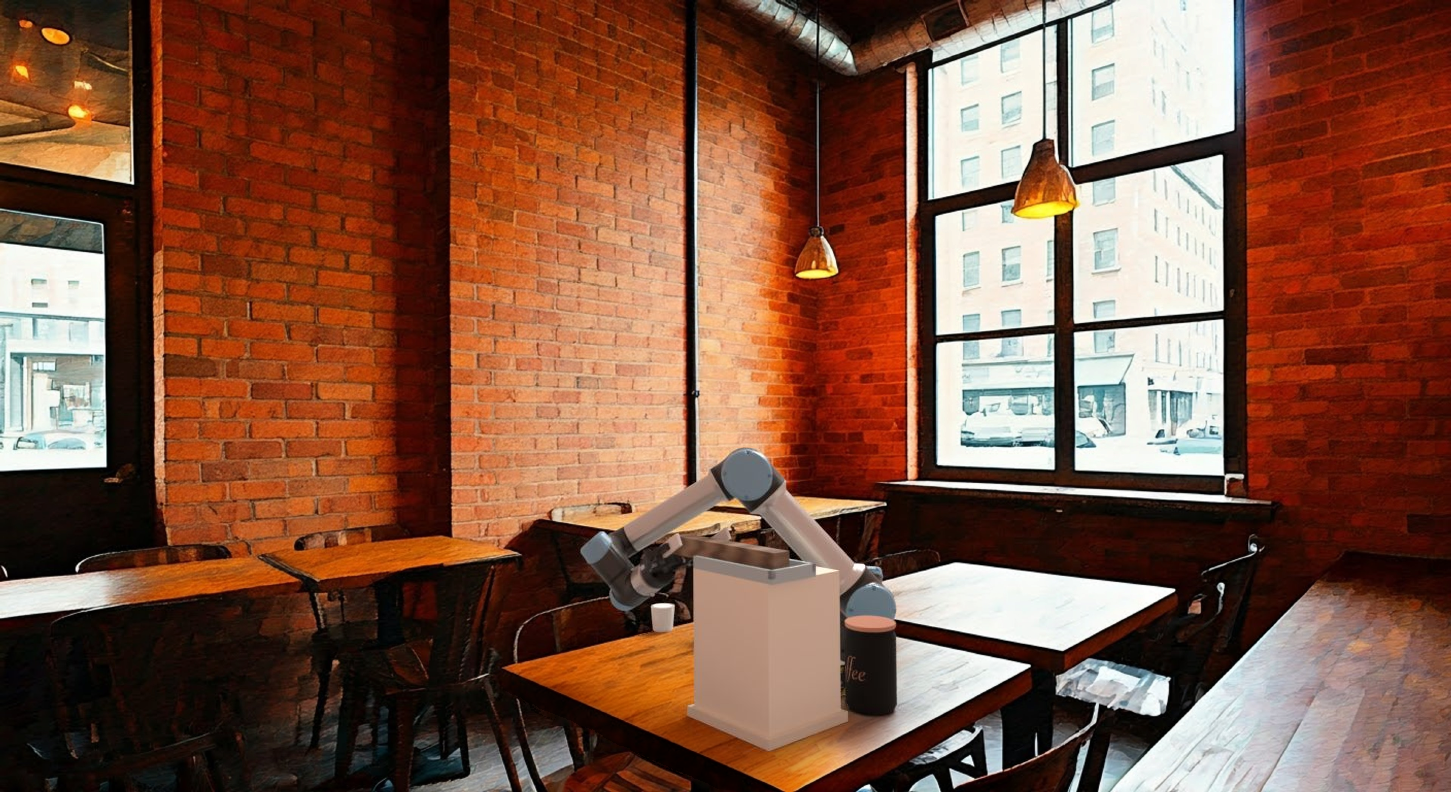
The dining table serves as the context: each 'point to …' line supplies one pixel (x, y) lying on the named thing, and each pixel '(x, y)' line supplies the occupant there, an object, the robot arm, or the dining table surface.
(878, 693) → the coffee jar
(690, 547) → the walnut bar
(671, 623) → the white cup
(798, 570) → the tray
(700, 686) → the plinth
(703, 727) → the dining table surface
